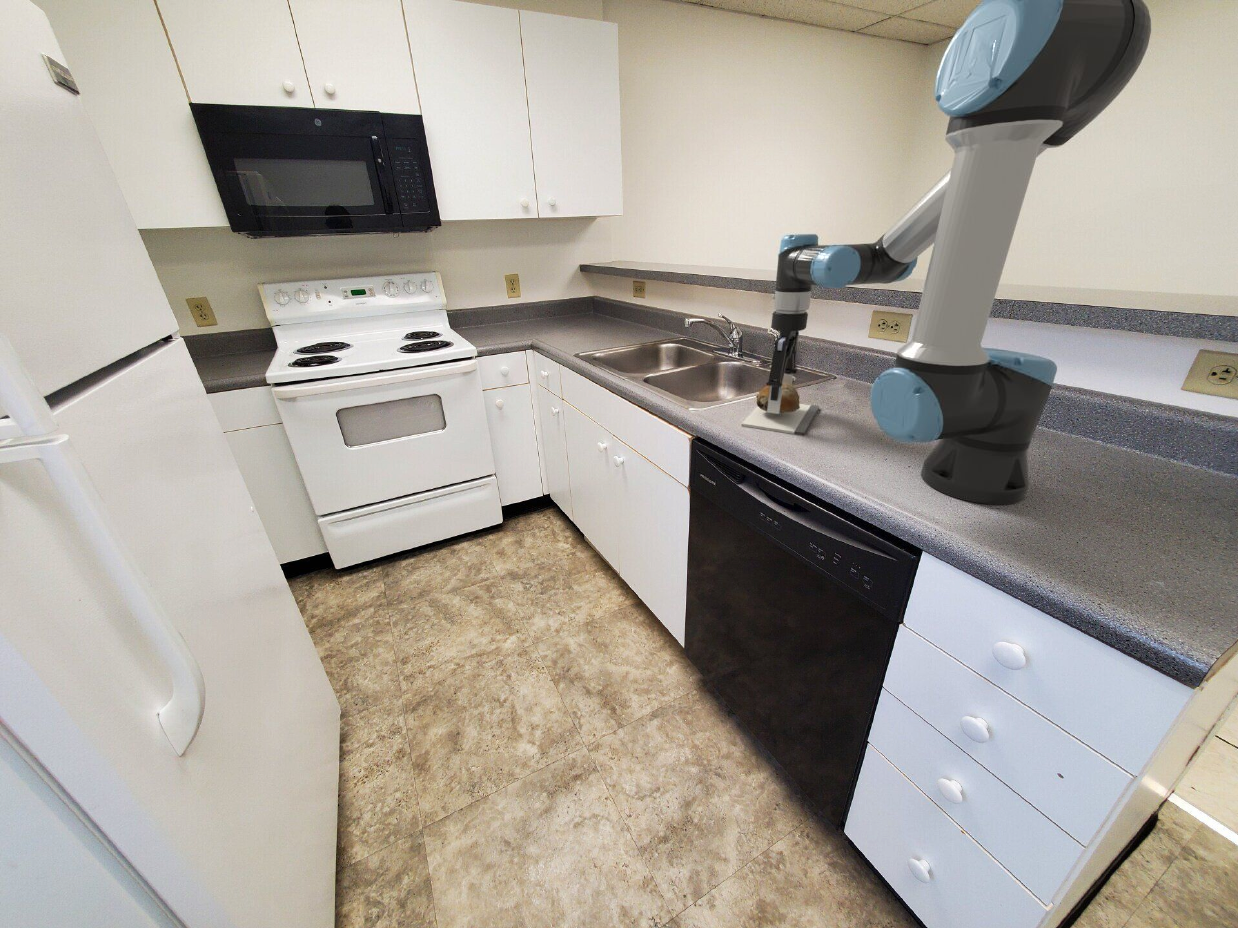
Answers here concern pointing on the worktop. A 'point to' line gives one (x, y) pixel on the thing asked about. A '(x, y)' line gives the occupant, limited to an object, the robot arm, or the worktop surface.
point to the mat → (782, 420)
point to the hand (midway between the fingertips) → (778, 405)
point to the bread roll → (787, 400)
